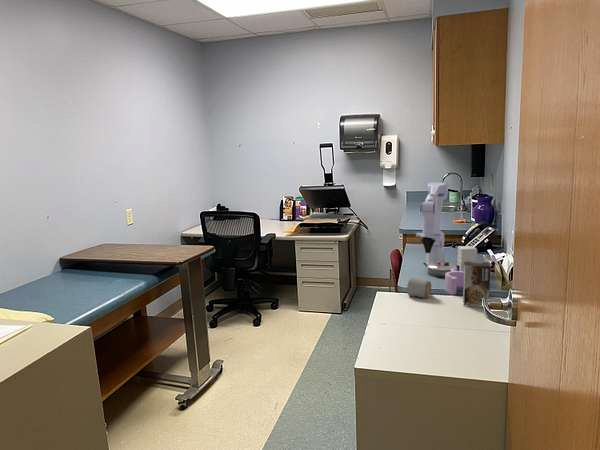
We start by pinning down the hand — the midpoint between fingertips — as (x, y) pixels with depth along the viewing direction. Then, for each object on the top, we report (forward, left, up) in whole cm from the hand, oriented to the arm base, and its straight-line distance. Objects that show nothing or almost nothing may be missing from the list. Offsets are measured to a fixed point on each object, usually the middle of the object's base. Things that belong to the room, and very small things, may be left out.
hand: (427, 252), depth 214 cm
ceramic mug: (+32, +26, -10) cm, 42 cm away
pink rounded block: (+10, +28, -10) cm, 32 cm away
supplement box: (-15, +12, -10) cm, 21 cm away
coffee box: (+23, +46, -10) cm, 52 cm away
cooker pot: (-1, +8, -10) cm, 12 cm away
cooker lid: (-1, +8, -6) cm, 10 cm away
